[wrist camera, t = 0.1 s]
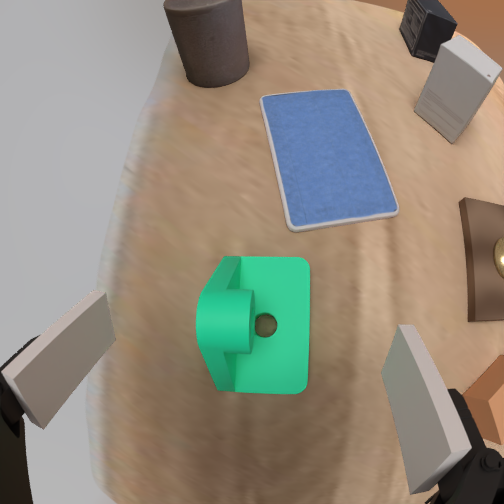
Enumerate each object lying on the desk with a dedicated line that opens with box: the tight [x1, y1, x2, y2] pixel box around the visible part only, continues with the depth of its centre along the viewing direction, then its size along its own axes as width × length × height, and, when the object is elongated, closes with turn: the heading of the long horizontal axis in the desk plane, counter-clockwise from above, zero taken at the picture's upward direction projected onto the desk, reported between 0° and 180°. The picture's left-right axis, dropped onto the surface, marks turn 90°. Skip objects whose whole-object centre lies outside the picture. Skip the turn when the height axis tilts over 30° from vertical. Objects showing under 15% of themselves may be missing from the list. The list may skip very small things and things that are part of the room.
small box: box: [399, 0, 457, 62], centre depth 32 cm, size 11×6×10 cm, turn 173°
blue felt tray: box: [259, 89, 399, 232], centre depth 32 cm, size 19×13×1 cm, turn 8°
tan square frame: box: [463, 355, 504, 445], centre depth 19 cm, size 7×7×5 cm
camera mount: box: [196, 256, 310, 394], centre depth 22 cm, size 12×8×10 cm, turn 178°
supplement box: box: [414, 35, 502, 144], centre depth 26 cm, size 7×7×13 cm
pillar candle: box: [164, 0, 249, 88], centre depth 30 cm, size 10×10×15 cm
